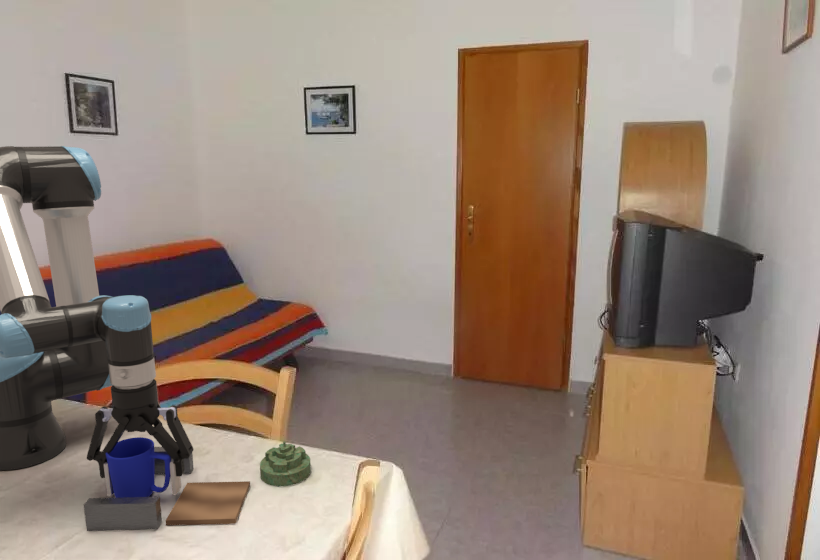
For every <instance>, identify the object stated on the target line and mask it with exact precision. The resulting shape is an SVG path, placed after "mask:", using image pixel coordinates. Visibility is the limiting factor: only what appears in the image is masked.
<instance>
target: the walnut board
mask: <svg viewBox="0 0 820 560" xmlns="http://www.w3.org/2000/svg"><path fill="white" fill-rule="evenodd" d="M250 487H251V481H248V480H247V481H205V482H204V481H201V482H197V481H196V482H186V484H185V486H184V488H183V490H182V491H181V492H180V495H178V496H179V497H178V498H177V500H176V501H175V503H174V505H173V507H172V509H171V510H170V512H169V514H168V515H167V517H166V519H165V526H197V525H199V526H201V525H204V526H206V525H237V524H236V523H237V521H238V519H239V516H240V513H241V511H242V508H243V506H244V503H245V501H246V498H247V495H248V493H249V490H250Z"/></svg>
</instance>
